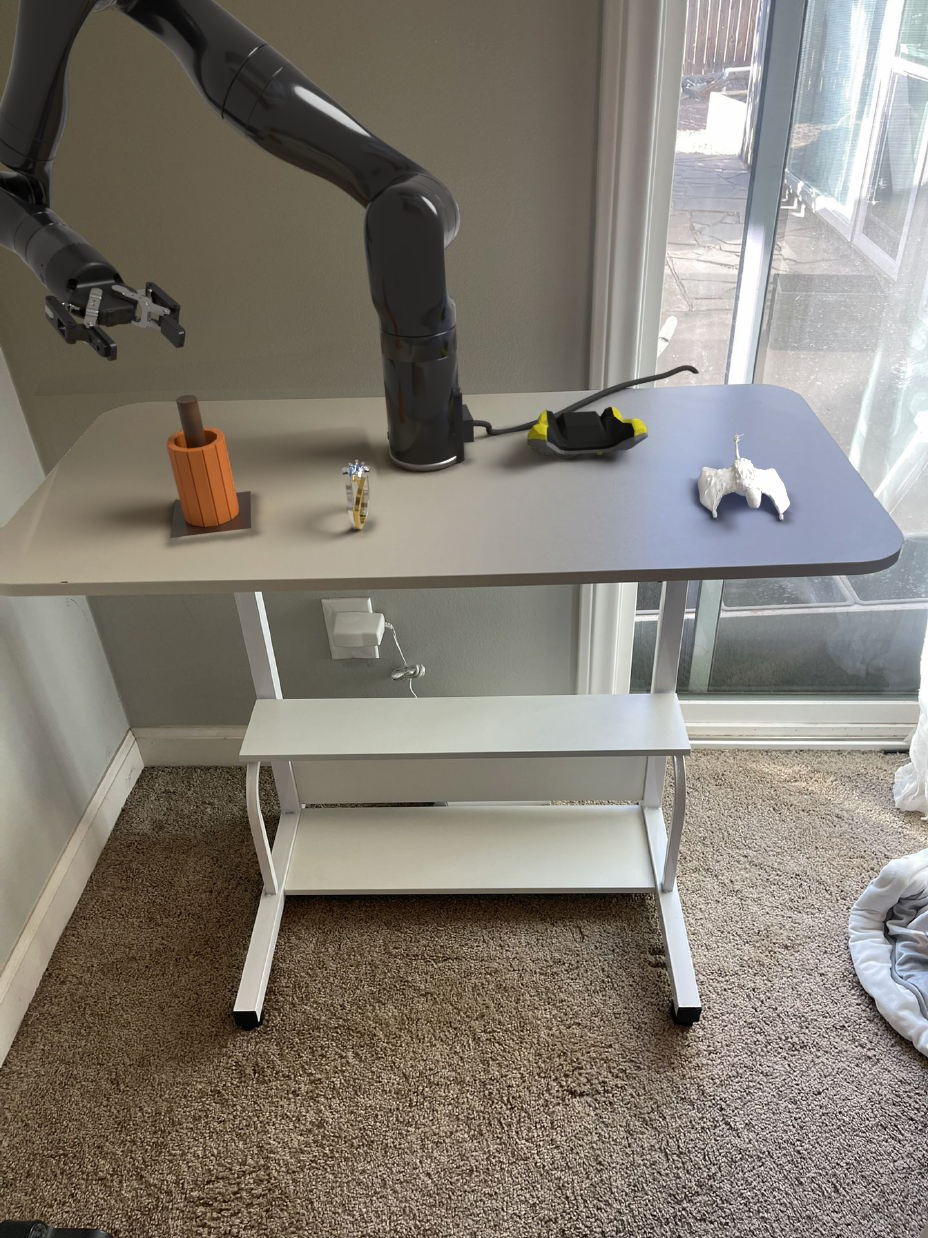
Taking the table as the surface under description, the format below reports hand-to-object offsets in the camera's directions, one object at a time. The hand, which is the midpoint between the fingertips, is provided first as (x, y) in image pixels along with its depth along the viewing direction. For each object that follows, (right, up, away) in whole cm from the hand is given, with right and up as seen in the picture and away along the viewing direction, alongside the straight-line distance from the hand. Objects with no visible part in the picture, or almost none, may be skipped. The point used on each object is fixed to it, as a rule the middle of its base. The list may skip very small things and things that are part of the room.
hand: (148, 347), depth 104 cm
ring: (+24, -20, +2) cm, 32 cm away
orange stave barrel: (+6, -18, +3) cm, 20 cm away
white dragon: (+69, -16, +5) cm, 71 cm away
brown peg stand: (+6, -19, +4) cm, 20 cm away
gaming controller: (+51, -9, +15) cm, 54 cm away
